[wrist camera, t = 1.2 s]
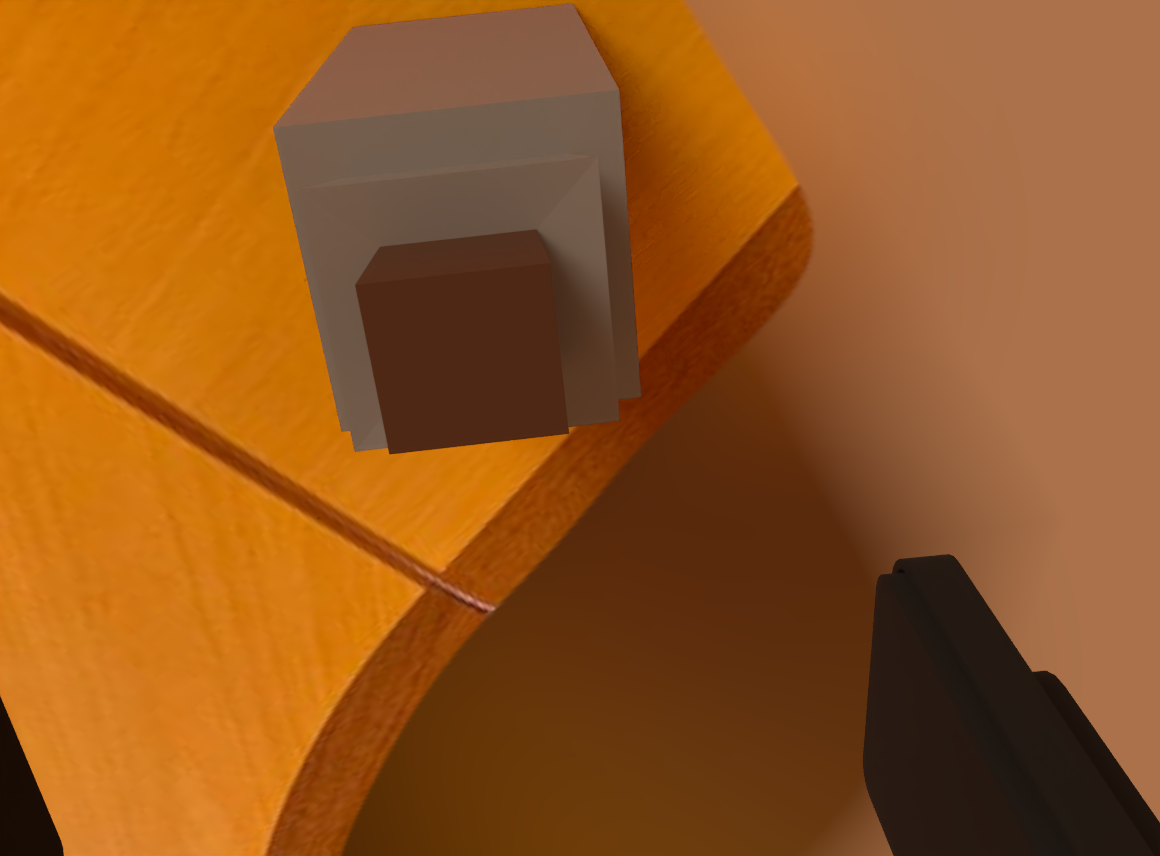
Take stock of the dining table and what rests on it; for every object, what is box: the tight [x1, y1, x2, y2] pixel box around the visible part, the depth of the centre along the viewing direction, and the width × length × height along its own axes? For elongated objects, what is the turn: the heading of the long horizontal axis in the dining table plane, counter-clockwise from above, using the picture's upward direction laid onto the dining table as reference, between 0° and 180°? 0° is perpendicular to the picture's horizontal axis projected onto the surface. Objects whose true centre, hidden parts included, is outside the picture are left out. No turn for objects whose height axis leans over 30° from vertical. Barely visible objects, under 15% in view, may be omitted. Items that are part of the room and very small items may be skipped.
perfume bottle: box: [273, 4, 641, 454], centre depth 26 cm, size 7×7×18 cm
